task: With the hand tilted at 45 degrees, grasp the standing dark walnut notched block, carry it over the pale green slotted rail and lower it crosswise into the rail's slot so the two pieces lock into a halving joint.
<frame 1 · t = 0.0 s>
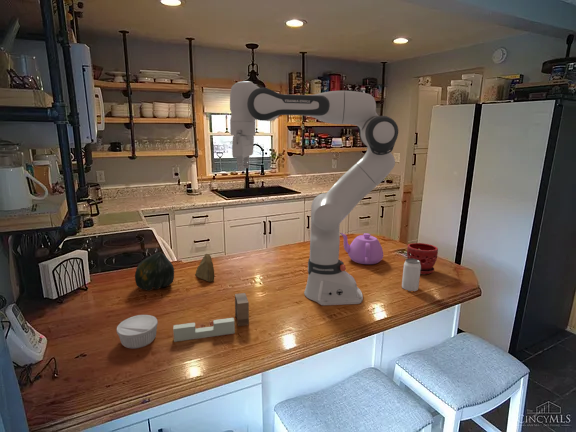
hand: (243, 169, 125), 48 cm above the countertop, tool pointing down, fingers open, 8 cm apart
squash: (156, 286, 139), on the countertop
ramekin: (138, 340, 103), on the countertop
teapot: (360, 260, 172), on the countertop
rock: (205, 278, 148), on the countertop
can: (409, 288, 141), on the countertop
walnut block: (241, 320, 115), on the countertop
slotted rail: (204, 335, 106), on the countertop
plant pot: (419, 271, 160), on the countertop
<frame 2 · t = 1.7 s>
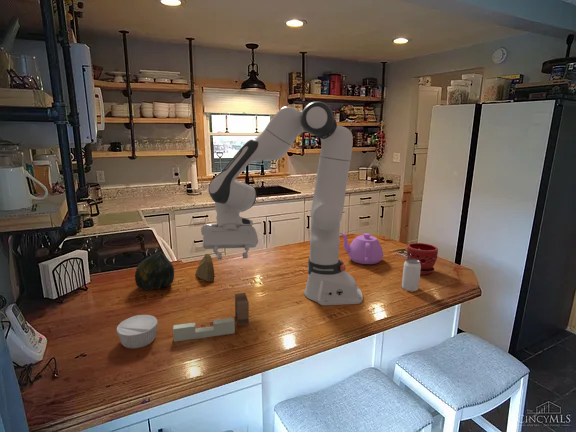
hand: (232, 258, 124), 17 cm above the countertop, tool tilted 45°, fingers open, 8 cm apart
nothing on the countertop moved.
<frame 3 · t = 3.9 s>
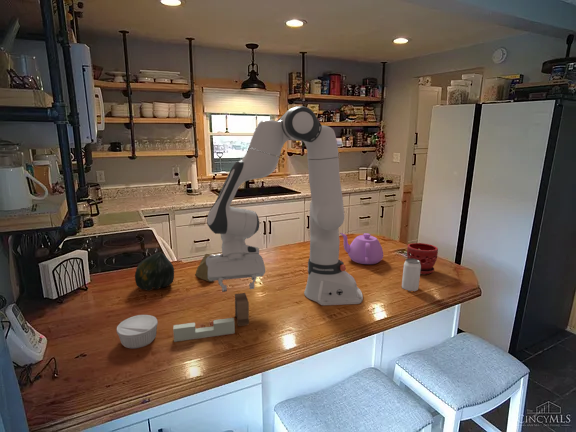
hand: (238, 289, 118), 8 cm above the countertop, tool tilted 45°, fingers open, 8 cm apart
nothing on the countertop moved.
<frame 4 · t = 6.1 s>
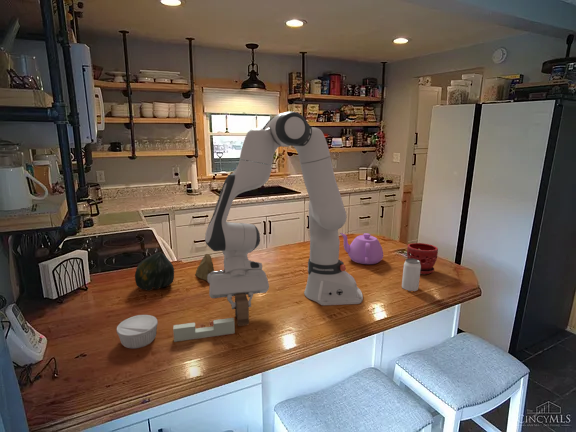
hand: (241, 307, 114), 4 cm above the countertop, tool tilted 45°, fingers closed on walnut block, 3 cm apart
walnut block: (241, 320, 115), on the countertop, touching gripper
everything else where it was.
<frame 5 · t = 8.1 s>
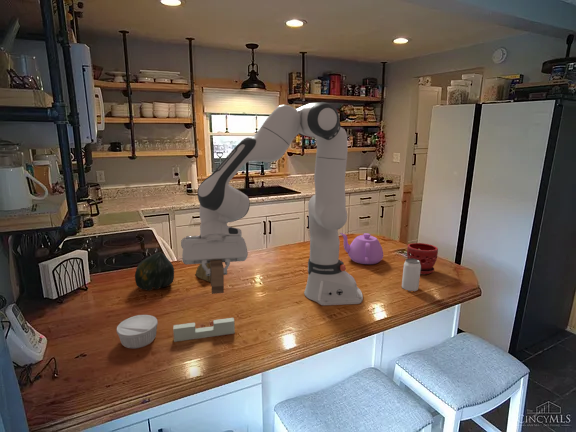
hand: (216, 274, 106), 18 cm above the countertop, tool tilted 45°, fingers closed on walnut block, 3 cm apart
walnut block: (216, 288, 106), point 14 cm above the countertop, touching gripper
everything else where it was.
when the fingers open (5 cm above the countertop, at t = 10.6 s): walnut block drops 1 cm, on the countertop.
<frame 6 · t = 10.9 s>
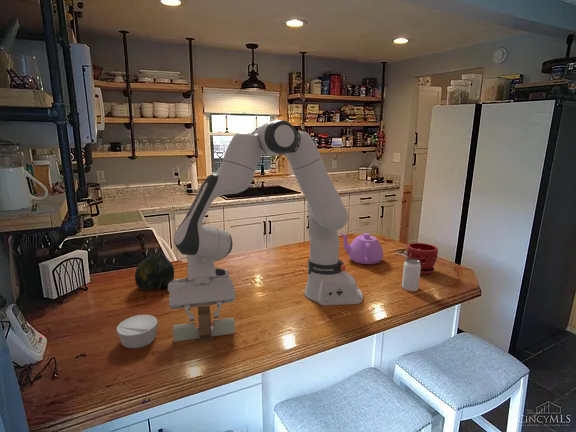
hand: (204, 319, 105), 5 cm above the countertop, tool tilted 45°, fingers open, 6 cm apart
walnut block: (205, 335, 106), on the countertop
everything else where it was.
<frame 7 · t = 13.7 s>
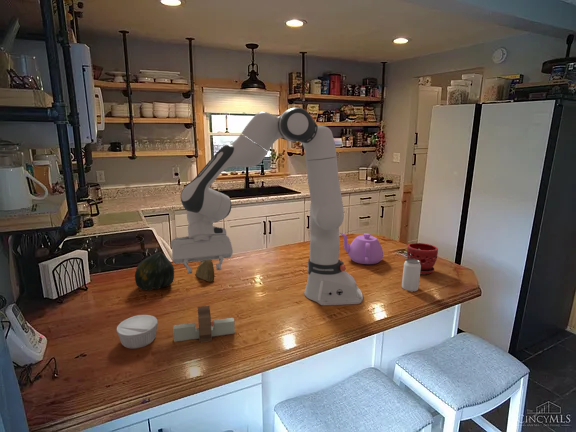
hand: (204, 271, 115), 16 cm above the countertop, tool tilted 45°, fingers open, 8 cm apart
nothing on the countertop moved.
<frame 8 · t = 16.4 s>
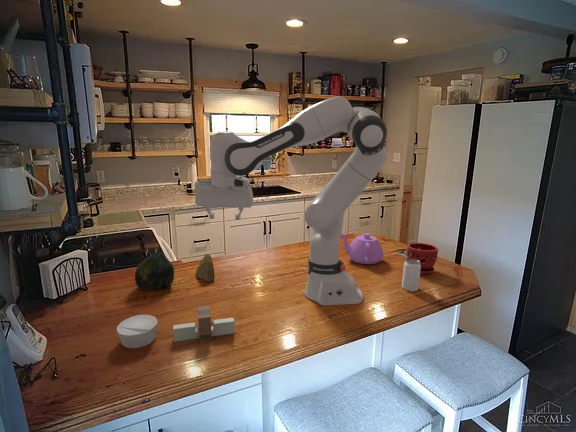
hand: (224, 219, 122), 31 cm above the countertop, tool pointing down, fingers open, 8 cm apart
nothing on the countertop moved.
at the end: walnut block 0.1 cm off-centre on the slotted rail, point 0.0 cm above the slotted rail's base; walnut block tilted 0°; the gripper is holding nothing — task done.
